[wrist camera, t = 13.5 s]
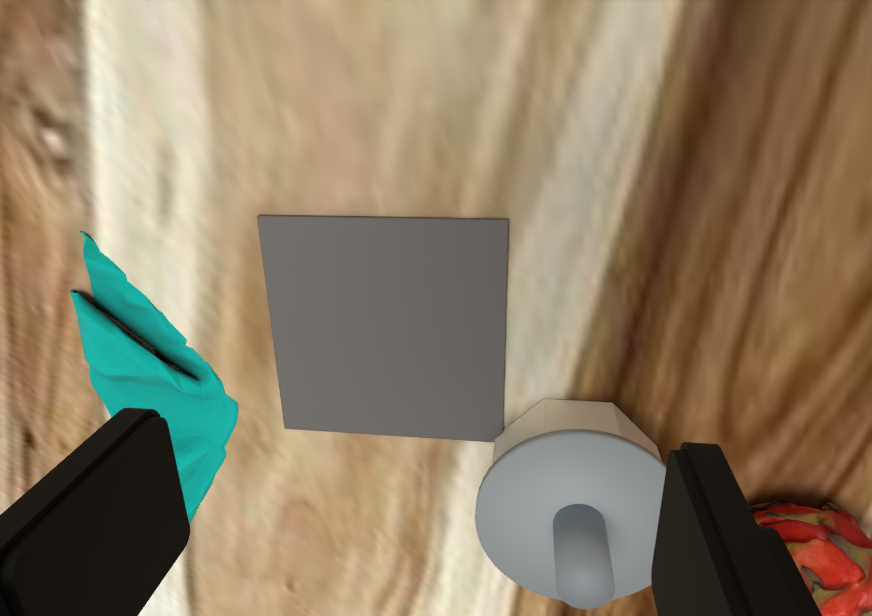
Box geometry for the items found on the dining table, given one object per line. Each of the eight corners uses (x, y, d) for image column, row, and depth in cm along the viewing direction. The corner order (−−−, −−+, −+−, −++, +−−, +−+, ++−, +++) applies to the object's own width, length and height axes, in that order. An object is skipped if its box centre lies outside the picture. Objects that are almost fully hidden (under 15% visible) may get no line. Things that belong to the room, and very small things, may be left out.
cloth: (249, 540, 52) (238, 561, 50) (96, 514, 53) (79, 532, 51) (239, 245, 42) (223, 255, 40) (49, 220, 43) (25, 229, 41)
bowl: (662, 405, 41) (679, 449, 37) (644, 535, 45) (657, 589, 41) (496, 396, 43) (492, 437, 38) (493, 522, 47) (489, 573, 42)
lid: (698, 435, 36) (727, 501, 31) (672, 601, 41) (693, 682, 36) (475, 423, 38) (467, 483, 33) (476, 583, 43) (468, 659, 38)
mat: (508, 218, 38) (508, 220, 38) (502, 439, 44) (502, 442, 44) (259, 214, 40) (257, 216, 40) (286, 425, 46) (284, 428, 46)
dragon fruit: (866, 547, 45) (701, 486, 47) (953, 521, 38) (752, 450, 40) (863, 674, 41) (682, 600, 43) (960, 672, 34) (735, 584, 36)
